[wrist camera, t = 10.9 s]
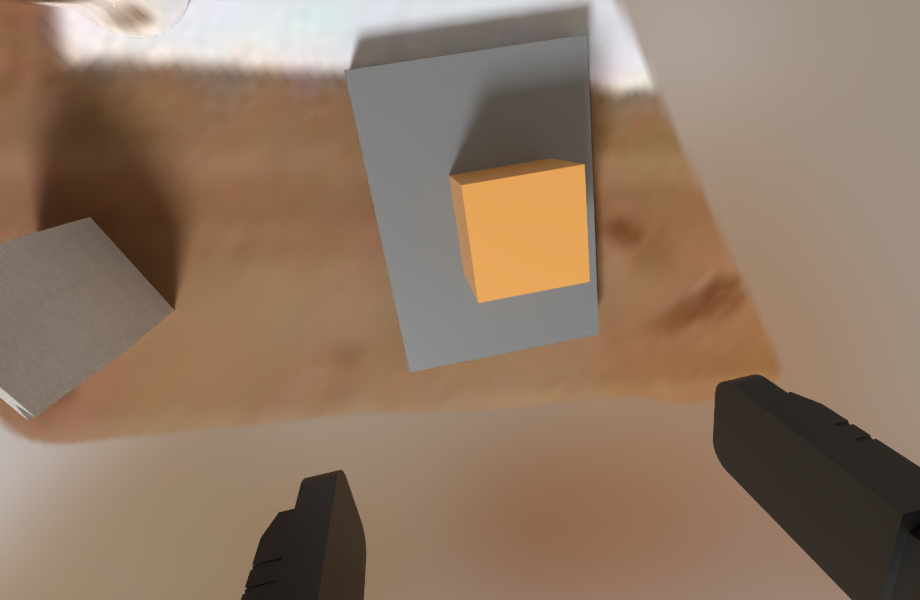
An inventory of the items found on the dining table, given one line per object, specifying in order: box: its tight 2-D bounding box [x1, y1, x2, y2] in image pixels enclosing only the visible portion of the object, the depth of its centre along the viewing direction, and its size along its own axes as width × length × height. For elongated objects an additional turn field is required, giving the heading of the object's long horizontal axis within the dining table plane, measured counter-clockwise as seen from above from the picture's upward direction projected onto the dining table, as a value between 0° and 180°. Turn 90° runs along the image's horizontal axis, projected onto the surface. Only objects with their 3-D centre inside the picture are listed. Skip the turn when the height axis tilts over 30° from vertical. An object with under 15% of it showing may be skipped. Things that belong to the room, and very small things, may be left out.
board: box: [344, 34, 599, 372], centre depth 26 cm, size 18×13×6 cm
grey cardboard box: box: [0, 217, 174, 421], centre depth 23 cm, size 4×7×10 cm, turn 29°
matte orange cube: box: [449, 158, 590, 303], centre depth 25 cm, size 6×6×5 cm
